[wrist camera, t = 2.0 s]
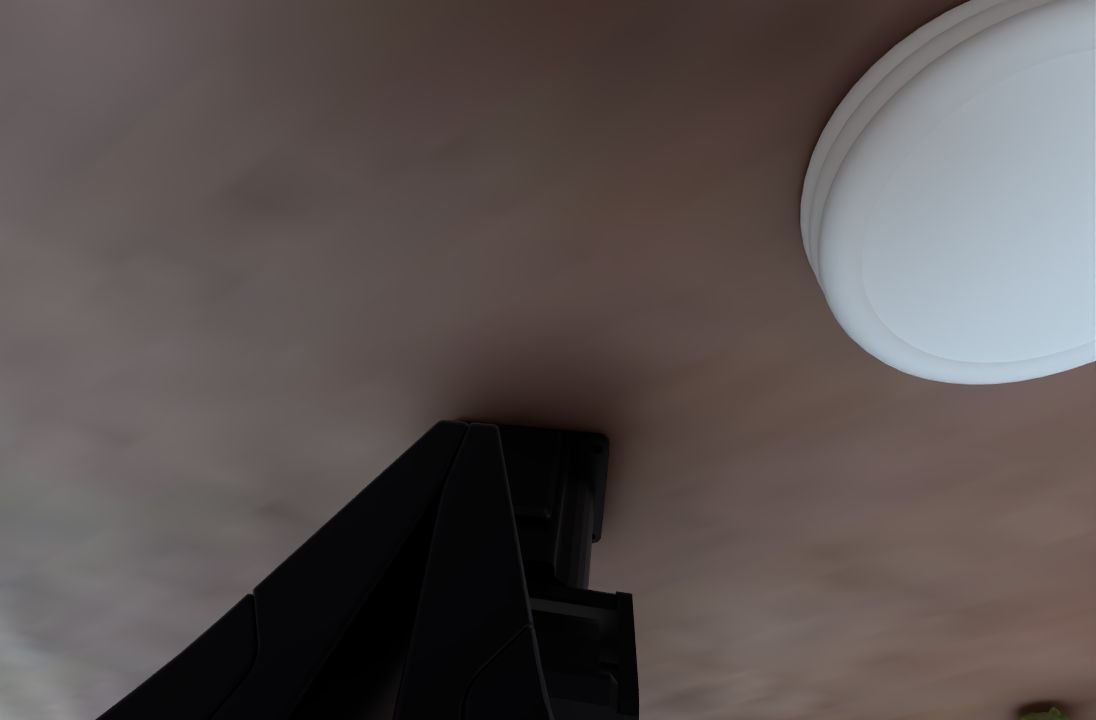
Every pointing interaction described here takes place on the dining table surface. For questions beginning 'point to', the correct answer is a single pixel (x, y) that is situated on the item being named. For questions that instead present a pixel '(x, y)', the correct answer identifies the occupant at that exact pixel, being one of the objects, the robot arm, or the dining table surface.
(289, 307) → the dining table surface
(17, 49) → the dining table surface
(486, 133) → the dining table surface
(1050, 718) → the vegetable
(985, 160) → the white round dish
